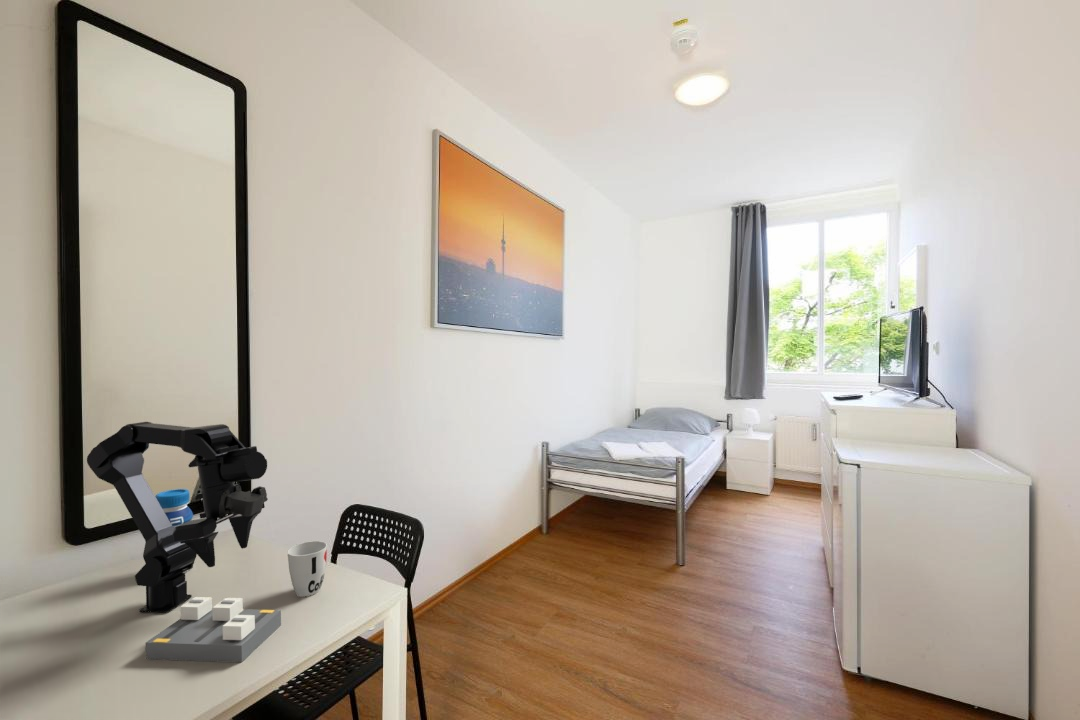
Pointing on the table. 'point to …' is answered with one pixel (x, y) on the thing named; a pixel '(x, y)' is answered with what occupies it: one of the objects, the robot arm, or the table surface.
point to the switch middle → (227, 609)
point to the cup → (307, 567)
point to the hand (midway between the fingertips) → (228, 556)
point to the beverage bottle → (176, 506)
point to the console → (211, 639)
